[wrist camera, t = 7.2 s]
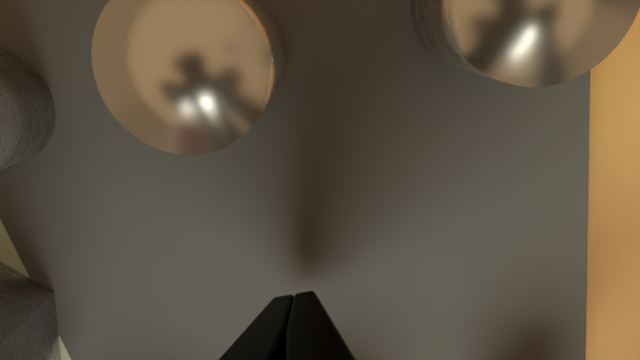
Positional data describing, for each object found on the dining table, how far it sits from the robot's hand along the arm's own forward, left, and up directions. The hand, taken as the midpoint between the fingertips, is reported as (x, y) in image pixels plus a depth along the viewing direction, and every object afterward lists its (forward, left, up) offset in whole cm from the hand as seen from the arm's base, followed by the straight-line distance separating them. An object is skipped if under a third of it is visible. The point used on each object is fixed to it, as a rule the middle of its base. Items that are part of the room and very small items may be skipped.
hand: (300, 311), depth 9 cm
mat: (0, 0, -2) cm, 2 cm away
